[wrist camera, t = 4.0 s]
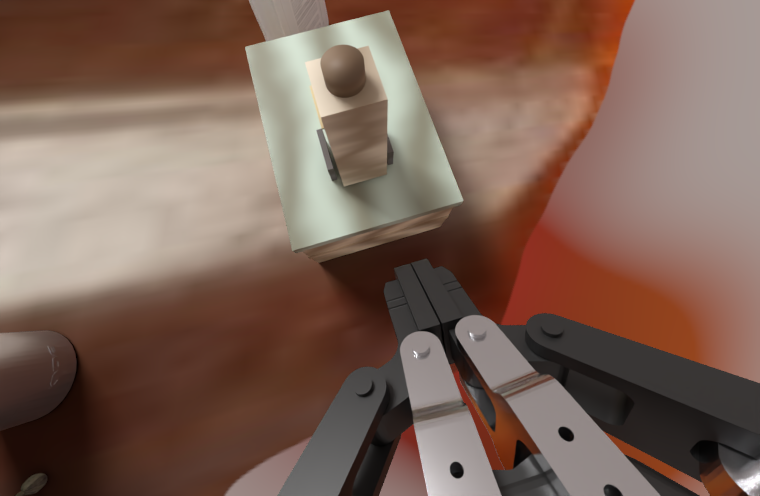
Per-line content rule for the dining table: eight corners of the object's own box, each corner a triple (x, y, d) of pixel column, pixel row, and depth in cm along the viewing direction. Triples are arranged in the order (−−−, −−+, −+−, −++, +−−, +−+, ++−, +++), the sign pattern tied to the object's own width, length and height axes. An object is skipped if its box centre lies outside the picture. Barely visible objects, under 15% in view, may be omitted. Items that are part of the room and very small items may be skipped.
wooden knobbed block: (343, 186, 24) (315, 101, 14) (332, 148, 25) (298, 43, 15) (386, 174, 24) (387, 82, 15) (374, 136, 25) (367, 25, 15)
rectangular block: (316, 266, 32) (283, 245, 21) (276, 106, 37) (234, 27, 26) (443, 228, 32) (470, 191, 22) (387, 76, 37) (389, -12, 27)
